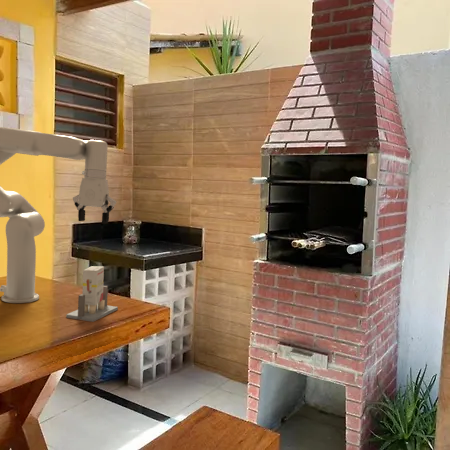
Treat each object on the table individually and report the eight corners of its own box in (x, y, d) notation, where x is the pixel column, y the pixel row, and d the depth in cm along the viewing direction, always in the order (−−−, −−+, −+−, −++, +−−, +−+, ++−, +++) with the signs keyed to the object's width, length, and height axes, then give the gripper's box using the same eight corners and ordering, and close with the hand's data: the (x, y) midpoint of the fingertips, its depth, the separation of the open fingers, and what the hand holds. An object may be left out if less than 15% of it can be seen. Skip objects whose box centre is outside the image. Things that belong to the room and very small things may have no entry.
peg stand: (66, 317, 152) (67, 293, 151) (92, 305, 167) (93, 284, 166) (93, 321, 149) (94, 297, 148) (117, 309, 165) (118, 287, 164)
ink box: (89, 298, 162) (90, 265, 161) (103, 299, 162) (104, 266, 161) (81, 304, 154) (82, 269, 153) (95, 305, 153) (97, 270, 152)
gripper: (68, 173, 165) (66, 220, 167) (111, 176, 160) (108, 225, 162) (80, 173, 172) (78, 219, 174) (122, 177, 168) (119, 223, 169)
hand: (93, 222), depth 168 cm, fingers open, 9 cm apart
